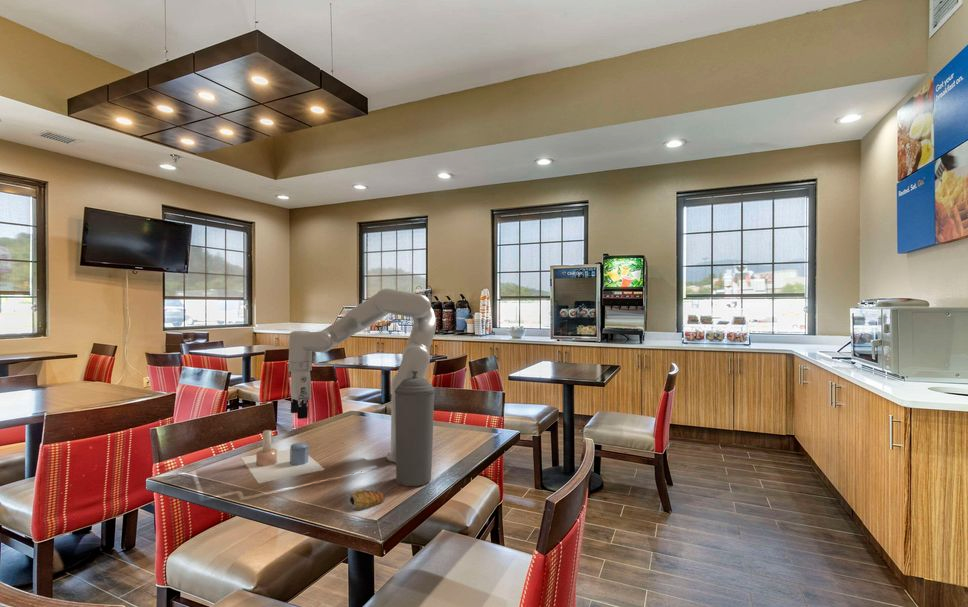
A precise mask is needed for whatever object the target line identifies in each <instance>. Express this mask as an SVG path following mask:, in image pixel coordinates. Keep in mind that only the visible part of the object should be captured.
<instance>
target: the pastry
mask: <svg viewBox="0 0 968 607" xmlns="http://www.w3.org/2000/svg"><path fill="white" fill-rule="evenodd" d="M384 501H385V496H384V493H383V492H381V491H377V490H376V491H374V490H371V489H370V490H366V489H362V490H359V491H358V490H357V491H355V492H352V493H350V495H349V498H348V503H349V506H350V507H351V508H352V509H353V510H357V511H360V510H362V511H363V510H364V509H371V508H372V507H373V508H374V507H376V506H378V505H380V504H382V503H383V502H384Z"/></svg>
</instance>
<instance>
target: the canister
mask: <svg viewBox="0 0 968 607" xmlns="http://www.w3.org/2000/svg"><path fill="white" fill-rule="evenodd" d="M411 372H412V373H413V376H412V378H406V379H404V380H403V381H402V382H401V383H400V384H399V385H398V387H397V388H396V389H395V426H396V463H395V468H396V469H395V470H396V472H395V473H396V474H395V475H396V476H395V478H396V483H397V484H399V485H401V486H403V487H420V485H421V486H423V485H427V484H429V483H430V481H431V480H432V468H433V466H432V465H433V444H434V443H433V442H434V441H433V439H434V412H435V408H434V405H435V393H436V390H435V388H434V386H433V385H432V384H431V383H430V382H429V380H428V379H426V377H425V378H419V377H417V372H419V370H411Z"/></svg>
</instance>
